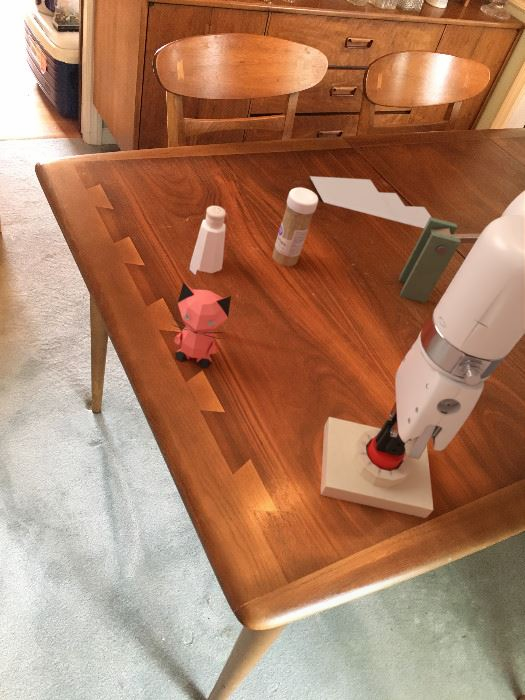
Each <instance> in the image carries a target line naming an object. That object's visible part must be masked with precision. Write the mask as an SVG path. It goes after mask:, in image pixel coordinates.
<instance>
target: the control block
mask: <svg viewBox="0 0 525 700" xmlns="http://www.w3.org/2000/svg"><path fill="white" fill-rule="evenodd" d="M381 429H382V428H380V427H376V426H371V425H368V424H367V425H366V424H362V423H359V422H354V421H349V420H345V419H341V418H336V417H332V416H329V417H328V418H327V420H326V421H325V424H324V426H323V441H322V443H323V444H322V459H321V479H320V496H323V497H328V498H332V499H336V500H342V501H346V502H350V503H354V504H358V505H364V506H368V507H373V508H378V509H382V510H387V511H390V512H396V513H401V514H406V515H410V516H413V515H414V517H418V518H423V519H427V518H428V517H429V516H430V514H432V512H433V511H434V499H433V492H432V490H433V489H432V481H431V472H430V460H429V453H428V451H429V450H428V445H427V446H426V448H425V450H424V451H423V453H422V455H421V457H420V458H419V459H416V458H411V457H407V455H406V451H405V455H404V458H403V459H402V460H401V462H400V463H399V464H398V466H397V467H396V468H394V469H391V470H385V469H381V468H379V467H377V466H376V465H375V464H373V463H372V461H371V460H370V458H369V456H368V447H369V445H370V443H371V442H372V440H373V439H374V437H375V436H376V435H378V433H379V432H380V430H381Z"/></svg>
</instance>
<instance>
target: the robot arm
mask: <svg viewBox="0 0 525 700" xmlns="http://www.w3.org/2000/svg"><path fill="white" fill-rule="evenodd" d="M479 234H480V236H479V238H478V239H477V241H476V242H475V243H473V246H471V247H472V248H470V250H469V252H468V254H467V255H466V257H465V259H464V260H463V262H462V263H461V265H460V267H459V268H458V270H457V272H455V275H454V277H452V280H451V282H450V283H449V285H448V286H447V288H446V289H445V291H444V292H443V295H442V297H441V298H440V300H439V301H438V302H437V304H436V306H435V307H434V309H433V311H432V312H431V314H430V315H429V317H428V319H427V320H426V322H425V324H424V325H423V327H422V329H421V330H420V331H419V333H418V336H417V338H416V340H415V342H414V343H413V344H412V345H411V347H410V348H409V350H408V351H407V353H406V354H405V356H404V358H403V359H402V360H401V363H400V365H399V366H398V368H397V370H396V373H395V378H394V379H395V382H394V383H395V385H394V386H395V402H394V404H393V406H392V408H391V409H390V412H389V419H387V420H386V421H385V423H384V424H383V426H382V427H381V428H380V429H381V430H380V432H379V433H378V435H377V436H376V443H377V444H376V450H377V451H381V452H385V453H387V454H390V455H398V456H401V455H403V453H404V452H405V451H406V455H407V457H411V458H416V459H419V458H420V457H421V455H422V453H423V451H424V450H425V448H426V446H427V447H428V445H429V442H430V441H431V439H432V445H433V451H437V452H441V451H443V450H445V449H446V448H447V446H449V445H450V443H451V442H452V441H453V439H454V438H455V436H457V434H458V432H459V431H460V429H461V428H462V427H463V425H464V424H465V422H466V421H467V419H468V418H469V417H470V415H471V413H472V412H473V410H474V408H475V406H476V404H477V402H478V401H479V399H480V397H481V395H482V392H483V390H484V388H485V381H486V380H488V379H489V378H490V377H491V376H492V374H493V373H494V372H495V371H496V369H497V368H498V367H499V366H500V364H501V363H502V362H503V361H504V359H506V357H507V356H508V355H509V353H510V352H511V351H512V350H513V348H515V346H516V344H518V342H519V341H520V340H521V339H522V338H523V336H524V335H525V190H523V191H522V192H521V193H519V195H517V196H516V197H515V198H514V199H513V200H512V201H511V202H510V203H509V204H508V205H507V207H506V208H505V210H504V211H503V212H502V214H501V216H500V217H497V218H495V219H493V220H492V221H491V222H489V223H488V225H486V226H485V227H484V229H483V230H482V232H481V233H479Z"/></svg>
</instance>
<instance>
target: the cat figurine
mask: <svg viewBox="0 0 525 700" xmlns="http://www.w3.org/2000/svg"><path fill="white" fill-rule="evenodd" d="M231 299H232V295H229V296H226V297H222V296H220V295H218V294H216V292H213V291H211V290H209V289H195V288H192V287H191V286H189V284H187V283H186V282H184V281H183V283H182V286H181V290H180V294H179V297H178V300H177V305H178V309H179V312H180V313H179V314H180V315H181V319H182V322H180V321H178V320H177V319H176V318H174V317H173V316H170V317H171V318H172V320H174V321H175V322H177V323H179V324H180V325H181V326H183V327H184V328H183V327H180V326H177V325H175V324H172V323H171V322H170V324H171V325H172V326H173V327H175V328H178V329H181V330H182V331H181V332H177V333H176V334H175V337H174V340H173V343H175V345H176V346H179V345H180V348H179V349H178V350H176V351H175V353H174V354H175V355H174V357H175V360H177V361H179V362H181V363H182V362H186V361H189V360H190V359H196V363H197V365H198V366H199V367H200V368H203V369H208V368H209V367H211V365H212V364H213V362H212V359H211V355H215V354H217V351H218V344H217V343H216V340H215V339H218V340H223V338H219V337H217V336H214V334H223V333H224V331H220V332H219V331H217V332H214V331H215V330H216V329H218V328H219V327H220V326H221V325H223V324H224V323H225V322H226V320H228V319H229V314H230V307H231Z"/></svg>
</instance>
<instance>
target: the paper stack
mask: <svg viewBox="0 0 525 700" xmlns="http://www.w3.org/2000/svg"><path fill="white" fill-rule="evenodd" d="M309 178H310V180H311V182H312V184H313V185H314V187H315V189H316V191H317V193H318V194H319V196H320V198H321V200H322V201H323V203H324V204H328V205H332V206H337V207H340V208H344V209H348V210H351V211H356V212H360V213H363V214H367V215H370V216H375V217H379V218H383V219H386V220H391V221H393V222H398V223H402V224H405V225H408V226H414V227H417V228H421V229H424V228H425V226H426V224H427V222H428V220H429V218H430V217H432V215H431V214H430V212H428V210H427V208H426V207H425V206H410V205H409V206H408V205H405V204H404V202H403V201H402V200H401V198H400V196H399V195H398V194H397V192H380V191H378V188H377V187H376V186H375V184H374V183H373V181H372V180H371V179H366V178H349V177H348V178H347V177H332V176H331V177H330V176H329V177H328V176H312V175H309Z"/></svg>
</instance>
